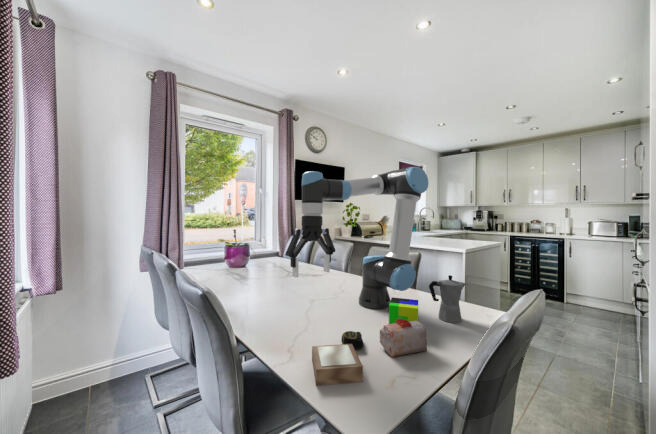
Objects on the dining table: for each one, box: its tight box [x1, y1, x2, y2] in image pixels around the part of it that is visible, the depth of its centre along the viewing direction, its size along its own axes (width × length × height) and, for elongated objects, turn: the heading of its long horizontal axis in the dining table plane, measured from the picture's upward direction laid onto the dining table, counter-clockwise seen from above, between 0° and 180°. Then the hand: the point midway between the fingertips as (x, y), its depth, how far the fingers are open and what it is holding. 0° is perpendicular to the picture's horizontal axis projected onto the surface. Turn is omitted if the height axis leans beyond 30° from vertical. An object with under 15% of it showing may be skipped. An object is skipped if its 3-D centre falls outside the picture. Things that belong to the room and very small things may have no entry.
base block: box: [311, 344, 364, 386], centre depth 74 cm, size 12×12×4 cm
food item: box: [379, 318, 428, 358], centre depth 85 cm, size 14×8×10 cm, turn 107°
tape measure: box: [341, 330, 364, 349], centre depth 88 cm, size 7×7×4 cm
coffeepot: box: [428, 274, 467, 324], centre depth 111 cm, size 15×9×18 cm, turn 92°
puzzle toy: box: [388, 297, 419, 324], centre depth 101 cm, size 10×10×10 cm
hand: (311, 274), depth 97 cm, fingers open, 13 cm apart
